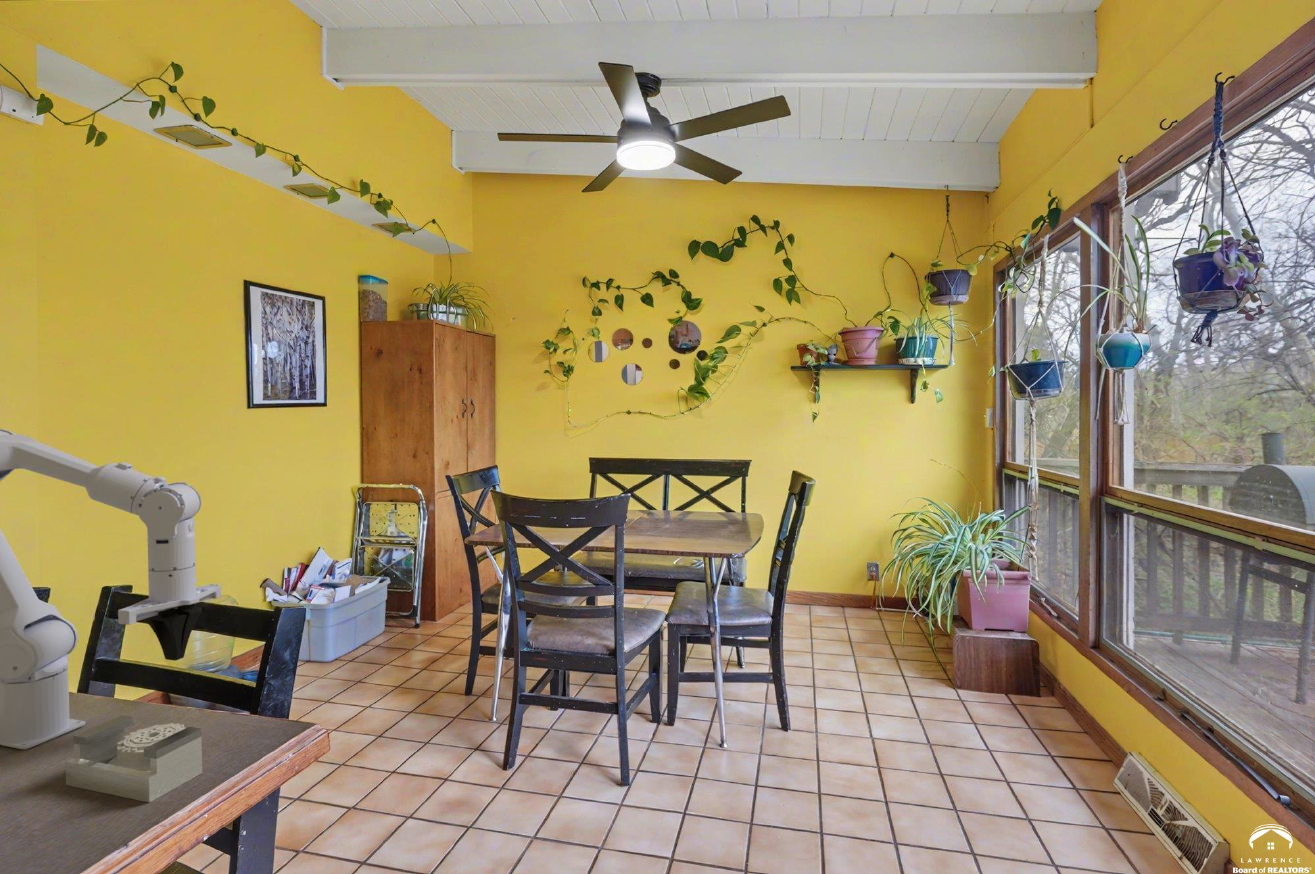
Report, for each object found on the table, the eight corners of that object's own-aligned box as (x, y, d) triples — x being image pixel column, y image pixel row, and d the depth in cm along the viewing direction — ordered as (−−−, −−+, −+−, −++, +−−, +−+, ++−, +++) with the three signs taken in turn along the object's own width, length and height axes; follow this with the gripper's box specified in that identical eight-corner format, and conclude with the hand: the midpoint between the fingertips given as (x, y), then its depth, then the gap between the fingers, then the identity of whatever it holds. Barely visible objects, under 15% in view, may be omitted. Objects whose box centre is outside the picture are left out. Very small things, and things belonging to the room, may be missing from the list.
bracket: (66, 785, 86) (64, 739, 86) (122, 757, 93) (121, 715, 93) (149, 802, 83) (148, 755, 83) (202, 772, 90) (201, 728, 89)
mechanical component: (85, 782, 88) (149, 793, 85) (83, 748, 87) (147, 758, 85) (158, 745, 97) (217, 753, 95) (157, 714, 97) (216, 722, 95)
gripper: (144, 580, 94) (147, 680, 94) (236, 558, 108) (238, 644, 108) (105, 577, 96) (108, 674, 96) (200, 555, 110) (202, 640, 110)
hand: (174, 658), depth 103 cm, fingers closed
